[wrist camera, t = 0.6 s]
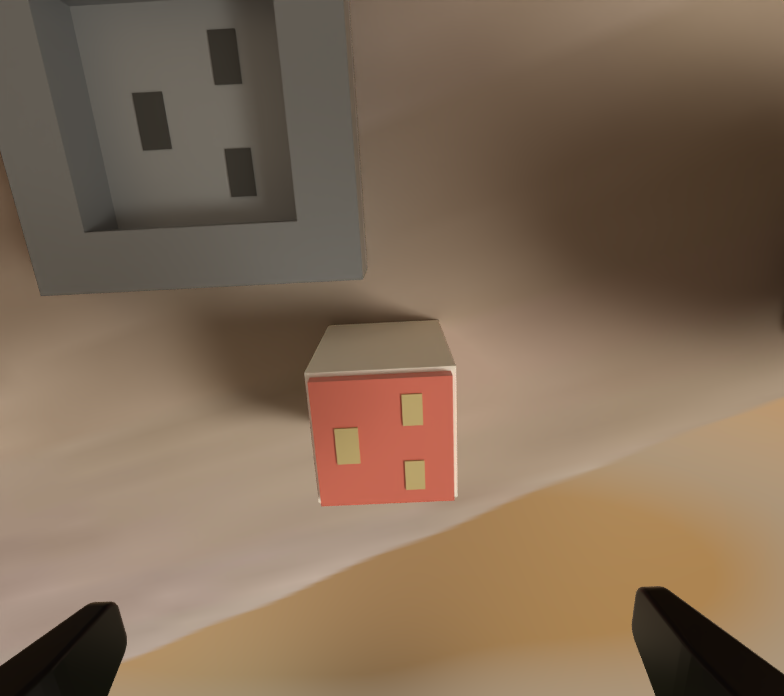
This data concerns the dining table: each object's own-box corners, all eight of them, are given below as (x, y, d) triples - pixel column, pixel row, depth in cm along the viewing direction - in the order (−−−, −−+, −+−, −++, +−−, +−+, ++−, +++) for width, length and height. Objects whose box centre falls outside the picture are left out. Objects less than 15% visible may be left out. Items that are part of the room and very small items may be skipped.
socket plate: (344, -74, 15) (331, -145, 12) (367, 268, 18) (362, 281, 15) (9, -52, 15) (-90, -117, 12) (91, 282, 19) (30, 299, 16)
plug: (438, 319, 19) (458, 371, 13) (440, 419, 21) (459, 505, 15) (328, 325, 19) (301, 378, 13) (338, 424, 21) (316, 511, 15)
